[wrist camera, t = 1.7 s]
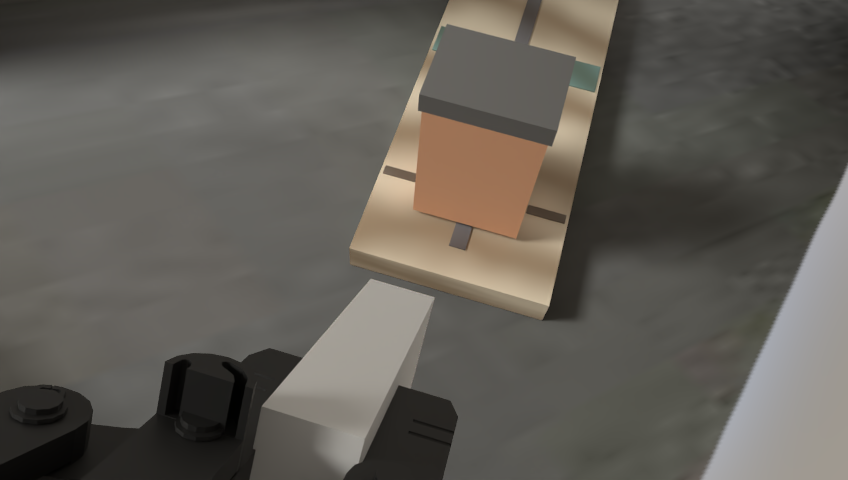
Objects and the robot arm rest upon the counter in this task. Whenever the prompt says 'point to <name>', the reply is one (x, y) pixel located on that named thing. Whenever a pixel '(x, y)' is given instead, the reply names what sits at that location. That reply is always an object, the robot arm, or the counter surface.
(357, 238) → the fader board
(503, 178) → the fader knob
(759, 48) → the counter surface
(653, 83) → the counter surface
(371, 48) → the counter surface
